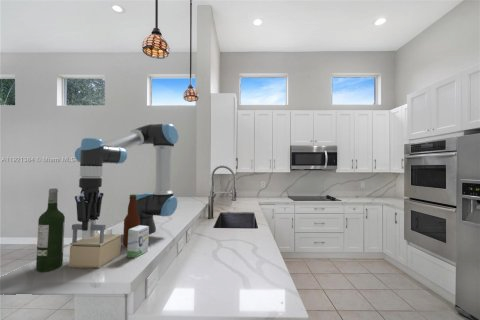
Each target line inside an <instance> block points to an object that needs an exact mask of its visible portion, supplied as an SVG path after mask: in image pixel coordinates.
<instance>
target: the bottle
mask: <svg viewBox="0 0 480 320" xmlns="http://www.w3.org/2000/svg"><path fill="white" fill-rule="evenodd" d="M136 196H137V195H136V194H129V198H128V199H129V202H128V205H127V214H126V216H125V217H124V219H123V234H122V235H123V237H122V240H123V241H122V245H123V247H124V248H127V247H128V230H129V229H131V228H134V227H136V226H139V225H140V217H139V216H138V214H137V203H136V199H137V198H136Z"/></svg>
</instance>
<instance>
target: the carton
mask: <svg viewBox="0 0 480 320" xmlns="http://www.w3.org/2000/svg"><path fill="white" fill-rule="evenodd" d="M121 240H122V236H120V237H118V238H116V239H114V240H112V241H110V242H108V243H106V244H104V245H102V246H83V245H69V264H68V268H80V269H101V268H102V267H104V266H105V265H107V264H109V263H110V262H112V261H114V260H115V259H116V258H118V257H120V256H121V247H122V246H121V245H122V241H121Z"/></svg>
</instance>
